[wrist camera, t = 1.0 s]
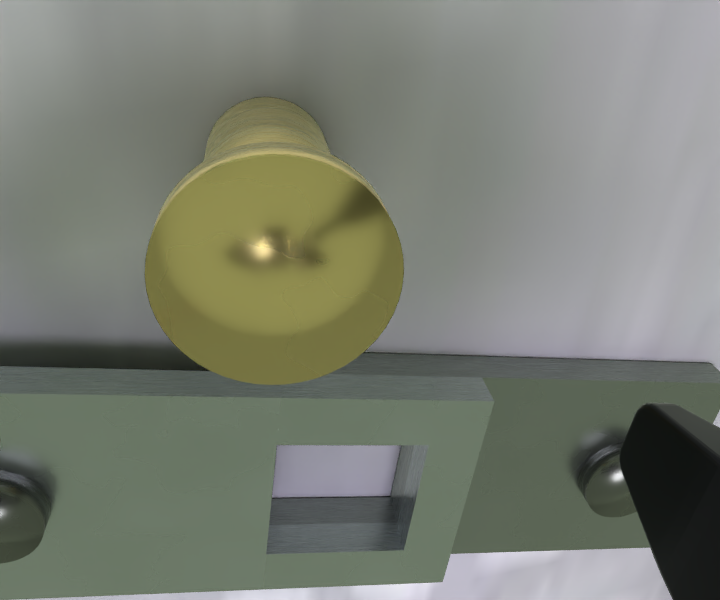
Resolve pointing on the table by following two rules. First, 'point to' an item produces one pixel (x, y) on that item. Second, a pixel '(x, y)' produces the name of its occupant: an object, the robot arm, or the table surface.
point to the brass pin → (272, 252)
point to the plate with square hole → (315, 427)
